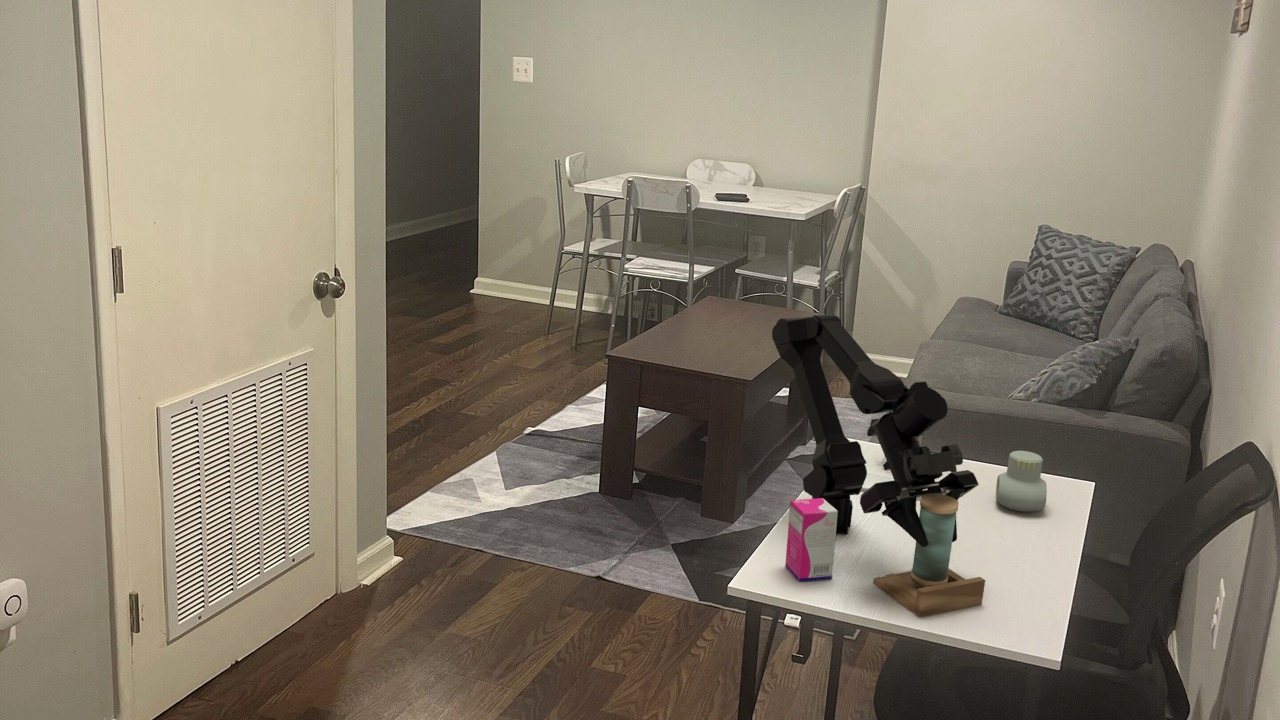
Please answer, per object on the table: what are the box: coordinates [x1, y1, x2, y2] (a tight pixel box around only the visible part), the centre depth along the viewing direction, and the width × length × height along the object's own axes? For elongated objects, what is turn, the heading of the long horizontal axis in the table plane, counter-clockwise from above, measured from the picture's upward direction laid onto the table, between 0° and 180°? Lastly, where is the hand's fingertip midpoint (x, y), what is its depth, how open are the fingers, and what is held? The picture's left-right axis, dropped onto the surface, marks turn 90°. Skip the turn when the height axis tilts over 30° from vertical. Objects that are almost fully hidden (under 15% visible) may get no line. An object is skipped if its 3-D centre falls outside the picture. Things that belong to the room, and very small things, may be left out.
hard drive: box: [860, 473, 921, 502], centre depth 211 cm, size 2×8×12 cm
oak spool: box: [910, 494, 960, 587], centre depth 167 cm, size 6×6×13 cm
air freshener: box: [995, 450, 1048, 513], centre depth 205 cm, size 11×8×10 cm
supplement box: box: [785, 498, 838, 583], centre depth 173 cm, size 6×6×12 cm
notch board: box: [872, 568, 986, 618], centre depth 169 cm, size 11×12×4 cm
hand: (940, 543), depth 166 cm, fingers closed on oak spool, 5 cm apart
